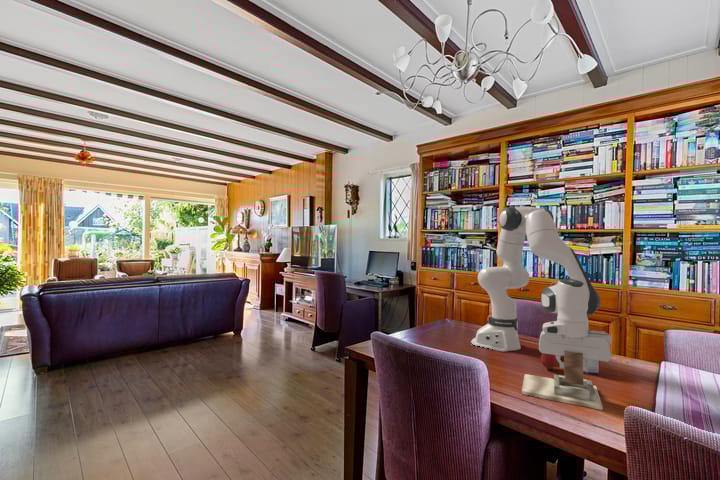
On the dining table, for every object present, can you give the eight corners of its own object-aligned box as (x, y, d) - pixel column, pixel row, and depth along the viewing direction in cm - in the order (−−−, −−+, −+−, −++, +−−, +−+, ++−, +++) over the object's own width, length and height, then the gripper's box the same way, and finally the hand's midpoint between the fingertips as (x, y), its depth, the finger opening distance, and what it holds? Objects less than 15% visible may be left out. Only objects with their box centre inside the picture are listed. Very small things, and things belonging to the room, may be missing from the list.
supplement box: (599, 374, 126) (599, 344, 126) (582, 373, 127) (581, 343, 127) (592, 368, 132) (591, 340, 132) (575, 367, 133) (575, 339, 133)
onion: (551, 373, 128) (551, 352, 128) (537, 368, 133) (537, 348, 133) (560, 370, 130) (560, 350, 131) (546, 365, 136) (546, 346, 136)
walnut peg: (565, 382, 109) (564, 351, 109) (564, 376, 113) (563, 347, 113) (583, 385, 106) (582, 354, 107) (582, 379, 111) (581, 349, 111)
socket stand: (521, 394, 111) (521, 383, 111) (524, 377, 124) (524, 367, 124) (602, 410, 100) (602, 397, 100) (596, 389, 113) (595, 378, 113)
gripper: (609, 329, 108) (610, 372, 108) (538, 323, 118) (539, 361, 118) (612, 334, 102) (614, 379, 102) (538, 327, 112) (538, 367, 112)
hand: (573, 369), depth 110 cm, fingers closed on walnut peg, 5 cm apart
